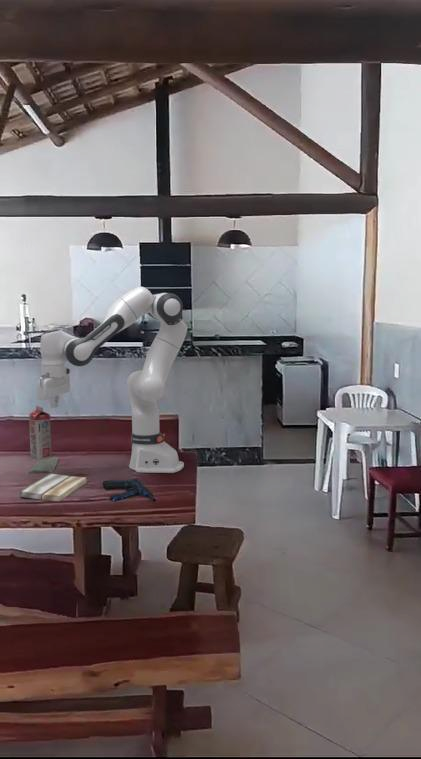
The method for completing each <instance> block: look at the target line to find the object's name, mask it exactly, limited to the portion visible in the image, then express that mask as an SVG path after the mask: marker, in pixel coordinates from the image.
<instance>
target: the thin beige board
mask: <svg viewBox="0 0 421 759" xmlns="http://www.w3.org/2000/svg"><path fill="white" fill-rule="evenodd" d="M68 476H69V475H68ZM86 483H87V477H84V476H74V475H73V476H71V475H70V476H69V477H68V478H66V479H65V480H63V481H61V482H60V483H58V484H57V485H55V486H54V487H52V488H51V489H49V490H48V491H46V492H44V493H43V494H42V499H41V500H42V501H51V502H52V501H53V502H61V501H62V500H64V499H65V498H67V497H68V496H69V495H71V494H72V493H73V492H76V491H77V490H78V489H80V488H81V487H82V486H84V485H86Z"/></svg>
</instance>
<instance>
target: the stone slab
mask: <svg viewBox="0 0 421 759" xmlns="http://www.w3.org/2000/svg"><path fill="white" fill-rule="evenodd" d="M59 460H60V457H56V456H52V457H47V458H42V459H38V461H37V462H36V463H35V464H34V465H32V467H30V469H29V470H28V473H29V474H53V472H55V470H56V467H57V466H58V464H57V463H58V462H59Z"/></svg>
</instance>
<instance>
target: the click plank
mask: <svg viewBox="0 0 421 759" xmlns="http://www.w3.org/2000/svg"><path fill="white" fill-rule="evenodd" d="M68 477H69V475H64V474H58V473H57V474H56V473H47V475H44V476H43V477H41V478H39V479H38V480H36V481H35V482H32V483H31V484H30V485H28V486H26V487H24V488H23V489H22V490H19V497H20V498H26V499H34V500H42V494H43V493H44V492H46V491H48V490H49V489H51V488H52V487H54V486H55V485H57V484H58V483H60V482H61V481H63V480H65V479H66V478H68Z"/></svg>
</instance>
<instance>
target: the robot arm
mask: <svg viewBox="0 0 421 759" xmlns="http://www.w3.org/2000/svg"><path fill="white" fill-rule="evenodd" d="M183 310H184V304H183V301H182V300H181V298H180V297H179V296H177V295H176V294H175V293H170V292H161V293H154V294H152V293H151V291H150V290H149V289H147V288H146V287H144V286H137V287H134V288H133V289H131V290H129V291H127V292H126V293H124V294H123V295H121V296H120V297H119V298H118V299H116V300H115V301H113V303H112V304H111V305H110V306H109V307H108V308H107V311H106V316H105V319H104V320H103V322H102V323H101V324H100V325H99V326H96V328H95V329H94V330H92V331H91V332H90V333H89V334H87V335H86V336H84V337H81V338H80V337H77V336H74V335H71V334H69V333H67V332H66V331H63V330H62V329H61V328H60V329H59V328H56V329H55V328H54V329H49V330H46V331H44V332H43V333H42V334H41V337H40V346H39V347H40V349H39V350H40V355H41V362H40V368H41V369H40V373H41V374H40V378H39V379H38V382H37V391H36V392H37V394H36V396H37V398H38V400H43V401H44V400H46V401H47V400H48V401H49V405H50V408H51V409H55V408H57V407H59V400H60V398H61V397H60V396H61V395H63V394H67V393H69V391H70V389H71V377H70V375H71V368H69V367H66V364H65V363H66V362H69V363H70V364H71V365H73V366H75V367H84V366H86V365H88V364H89V363H91V361H92V360H93V359H94V357H95V354H96V353H97V351H98V350H99V349H100V348H101V347H102V346H104V344H106V343H107V342H108V341H110V339H112V338H113V337H114V336H116V335H117V334H118V333H120V332H121V331H123V330H125V329H126V328H128V327H130V326H131V325H133V324H134V323H135V322H137V321H138V320H140V318H141V317H143V316H145V315H146V314H147V315H149V316H150V317H151V318H152V319H155V320H157V321H159V322H160V326H159V330H158V332H157V334H156V335H155V337H154V339H153V341H152V343H151V345H150V346H149V349H148V350H147V352H146V355H145V356H146V357H145V361H144V364H143V368H142V370H137V371H134V372H132V373H130V375H129V376H128V378H127V381H126V384H127V389H128V396H129V404H130V408H131V409H130V410H131V429H132V432H131V435H130V442H131V456H130V461H129V464H128V467H129V469H131V470H134V471H135V472H136V473H147V474H148V473H152V474H155V473H162V474H163V473H164V474H165V473H166V474H174V473H177V472H180V471H181V470H182V469H184V468H185V463H184V462H183V461H181V460H180V459H179V455H178V452H177V450H176V449H175V448H173V446H171V445H169V444H168V443H167V442H165V437H166V436H165V435H166V433H161V431H160V412H159V409H158V404H157V403H158V402H157V401H159V400H160V399H161V398H162V397H163V396H164V393H165V385H166V382H167V380H168V377H169V373H170V370H171V367H172V366H173V364H174V361H175V359H176V358H177V355H178V354H179V352H180V350H181V348H182V346H183V343H184V341H185V338H186V335H187V332H188V325H187V323H186V322H184V321H183Z"/></svg>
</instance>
